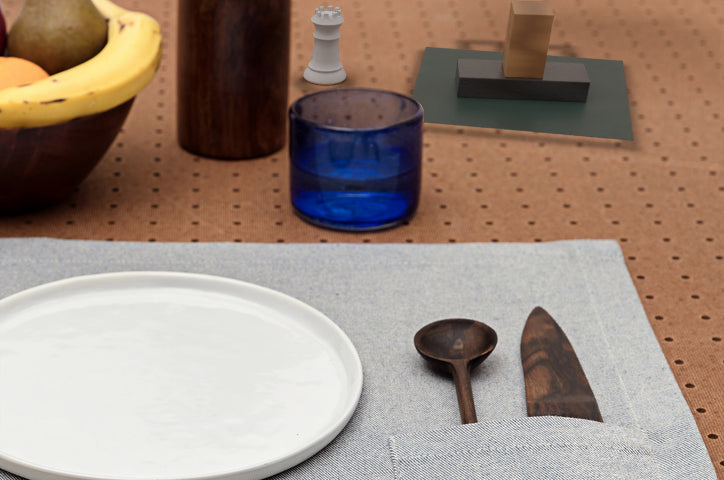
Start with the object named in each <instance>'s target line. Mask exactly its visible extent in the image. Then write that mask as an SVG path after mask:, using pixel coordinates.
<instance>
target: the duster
mask: <svg viewBox="0 0 724 480" xmlns="http://www.w3.org/2000/svg"><path fill="white" fill-rule="evenodd" d="M554 17H555V14H554V12H553V8H552V5H551V2H550V1H545V0H544V1H543V0H542V1H541V0H540V1H539V0H511V1H510V7H509V13H508V20H507V28H506V32H505V38H504V39H505V41H504V47H503V52H504V53H503V59H502V60H478V59H457V67H456V75H455V81H456V92H457V97H469V98H494V99H518V100H543V101H567V102H587V97H588V92H589V87H590V80H589V77H588V75H587V72H586V69H585V66H584V64H583V63H561V62H546V58H547V55H548V52H549V47H550V41H551V35H552V28H553V24H554Z"/></svg>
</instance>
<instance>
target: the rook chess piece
mask: <svg viewBox="0 0 724 480" xmlns="http://www.w3.org/2000/svg"><path fill="white" fill-rule="evenodd" d="M333 8H334V9H333ZM310 21H311V23H312V24H313V25H314V28H315V29H314V31H313V33H312V36H313V38H314V40H313V48H312V55H311V59H310V61H308V64H307V67H306V68H305V69H304V72H303V75H302V76H303V77H304V80H305V81H307V82H308V83H310V84H313V85H317V86H333V85H337V84H341V83H343V82H344V81H345V80H346V78H347V72H346V70H345V69H344V68H343V63H342V61H341V57H340V38H342V34H341V32H340V27H341V26H342V25H343V23H344V22H345V18H344V16H343V15H342V9H341V8H340V7H339V6H335V7H334V5H327V9H326V10H325V6H324V5H322V6H318V7H316V8H315V9H314V14H313V15H312V17H311V19H310Z"/></svg>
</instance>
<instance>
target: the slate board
mask: <svg viewBox="0 0 724 480" xmlns="http://www.w3.org/2000/svg"><path fill="white" fill-rule="evenodd" d="M503 53H504V51H494V50H493V51H492V50H491V51H490V50H479V49H478V50H477V49H464V48H448V47H437V46H436V47H435V46H425V48H424V52H423V55H422V59H421V63H420V66H419V69H418V73H417V77H416V80H415V84H414V88H413V91H412V95H411V98H413V99H415V100H416V101H418V102H419V103H420V104H421V105H422V107H423V109H424V122H422V124H423V123H426V124H435V125H447V126H448V125H449V126H459V127H471V128H481V129H482V128H483V129H494V130H504V131H505V130H506V131H518V132H529V133H530V132H531V133H541V134H552V135H563V136H572V137H573V136H575V137H585V138H586V137H587V138H599V139H609V140H619V141H621V140H622V141H633V142H634V133H633V126H632V119H631V111H630V103H629V96H628V87H627V82H626V81H627V80H626V75H625V74H626V73H625V66H624V60H618V59H605V58H590V57H576V56H575V57H574V56H565V55H564V56H561V55H560V56H559V55H551V54H550V55H548V54H547V58H546V62H561V63H583V64H584V66H585V69H586V72H587V75H588V77H589V80H590V87H589V92H588V97H587V102H567V101H543V100H518V99H494V98H469V97H457V92H456V81H455V75H456V67H457V59H478V60H502V59H503Z"/></svg>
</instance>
